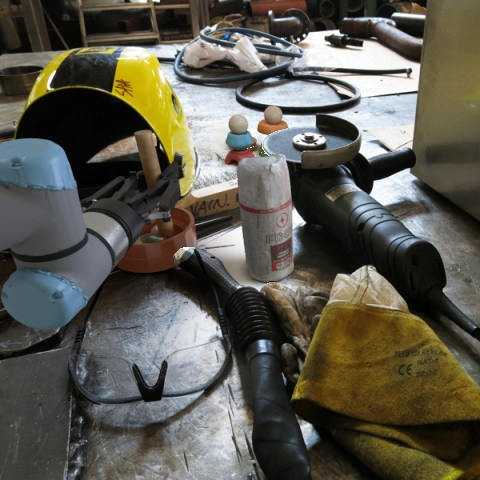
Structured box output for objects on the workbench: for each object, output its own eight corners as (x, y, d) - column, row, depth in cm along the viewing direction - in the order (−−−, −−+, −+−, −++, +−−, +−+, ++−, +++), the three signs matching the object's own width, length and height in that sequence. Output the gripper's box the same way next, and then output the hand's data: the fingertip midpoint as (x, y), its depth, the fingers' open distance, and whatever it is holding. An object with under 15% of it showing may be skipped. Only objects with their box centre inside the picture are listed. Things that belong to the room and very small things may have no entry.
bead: (149, 241, 85) (145, 227, 84) (162, 234, 87) (159, 220, 86) (160, 246, 84) (156, 231, 82) (173, 238, 86) (170, 223, 84)
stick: (156, 235, 83) (130, 133, 74) (167, 229, 84) (144, 129, 76) (166, 239, 81) (141, 135, 73) (178, 232, 83) (154, 130, 75)
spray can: (250, 288, 75) (243, 170, 65) (238, 261, 82) (230, 149, 72) (301, 278, 78) (302, 163, 68) (285, 252, 84) (284, 144, 74)
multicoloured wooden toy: (241, 139, 135) (239, 95, 128) (294, 151, 128) (294, 104, 121) (199, 159, 121) (194, 110, 114) (255, 174, 114) (253, 122, 108)
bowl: (94, 257, 81) (86, 226, 78) (161, 225, 92) (156, 197, 89) (148, 287, 75) (142, 255, 72) (214, 249, 85) (211, 219, 82)
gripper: (51, 255, 65) (126, 185, 85) (165, 263, 64) (213, 190, 84) (36, 206, 61) (118, 144, 81) (156, 213, 60) (209, 149, 81)
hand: (166, 167), depth 83 cm, fingers closed on stick, 3 cm apart
